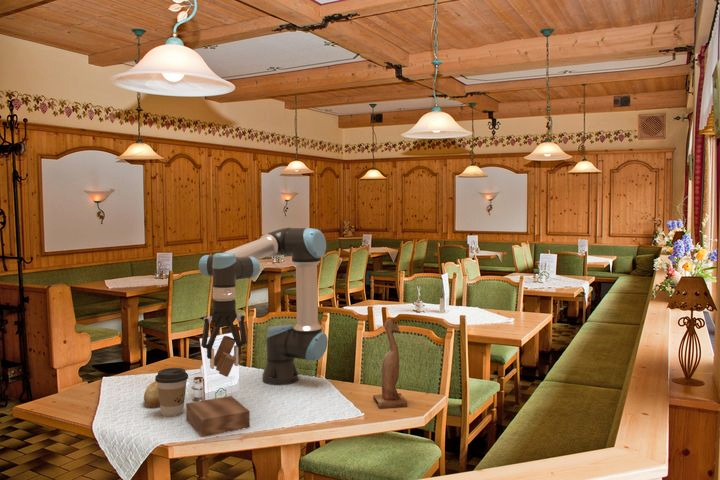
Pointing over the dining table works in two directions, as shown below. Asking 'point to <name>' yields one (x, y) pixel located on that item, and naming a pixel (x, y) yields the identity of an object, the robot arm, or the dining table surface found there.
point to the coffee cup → (171, 390)
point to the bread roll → (152, 395)
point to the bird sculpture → (390, 373)
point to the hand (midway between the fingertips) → (224, 366)
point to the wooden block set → (225, 356)
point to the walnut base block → (217, 416)
